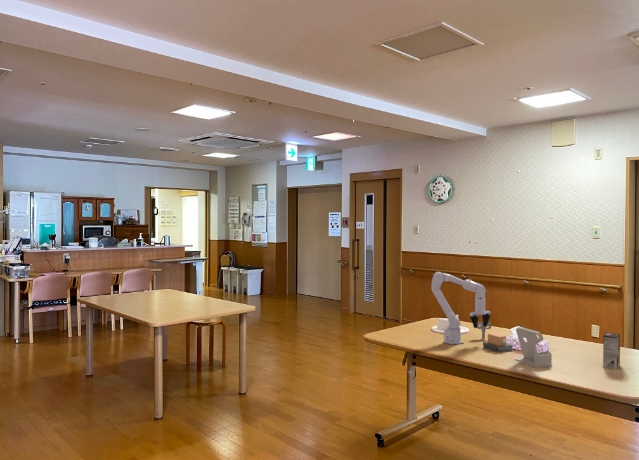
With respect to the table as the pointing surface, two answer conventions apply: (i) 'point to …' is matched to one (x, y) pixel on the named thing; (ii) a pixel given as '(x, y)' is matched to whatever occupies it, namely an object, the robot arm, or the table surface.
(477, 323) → the mechanical component
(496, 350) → the dark grey flat block
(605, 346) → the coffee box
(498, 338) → the housing
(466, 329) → the dish
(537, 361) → the phone holder
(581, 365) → the table surface
